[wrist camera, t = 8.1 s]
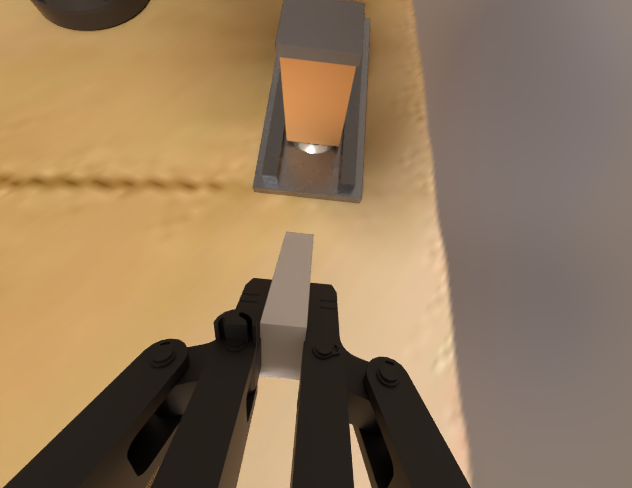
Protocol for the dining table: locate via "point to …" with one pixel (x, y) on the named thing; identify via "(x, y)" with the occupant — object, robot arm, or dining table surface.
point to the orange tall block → (318, 66)
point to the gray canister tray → (315, 147)
